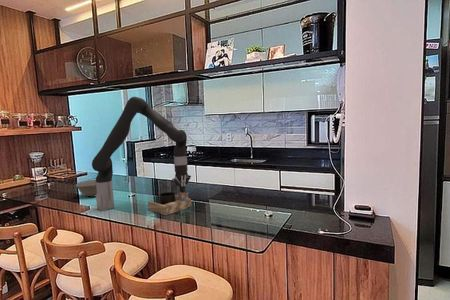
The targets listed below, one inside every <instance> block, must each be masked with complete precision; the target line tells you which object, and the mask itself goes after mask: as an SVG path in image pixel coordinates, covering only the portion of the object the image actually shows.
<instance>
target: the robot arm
mask: <svg viewBox="0 0 450 300" xmlns="http://www.w3.org/2000/svg"><path fill="white" fill-rule="evenodd" d="M137 114H140V115H142V116H144V117H146V118H147V119H148V120H149V121H150V122H151V123H152V124H153V125H154V126H155V127H156V128H157V129H159V130H160V131H162V132H163V133H165V134H166V136H167V137H168V138H169V139H170V140H171V141H173V142H174V143H175V146H174V148H173V154H174V155H173V159H174V160H173V163H174V172H175V175H174V176H175V177H173V178H171V179H172V180H171V181H172V182H173V183H174V184H175V185H176V187H179V191H180V192H181V193H184V192H185V193H186V186H187V185H188V184H189V182H190V180H191V177H192V175H190V174H188V159H187V157H188V156H187V151H186V150H187V149H186V148H187V141H188V140H187V139H188V137H187V133H186V131H185V130H183V129H177V128H176V127H175V126H174V124H173V122H171V121H170V120H168V119H166V117H164V116H162V115H161V114H160V113H158V112H157V110H155V109H154V108H152V106H151V105H150V104H148V103H147V102H146V100H145V99H143V98H141V97H137V96H131V97H130V98H129V99H128V100H127V102H126V104H125V106H124V108H123V110H122V113H121V115H120V117H118V119H117V121H116V123H115V124H114V126H113V128H112V129H111V131H110V133H109V134H108V136H107V138H106V140H105V141H104V143H103V145H102V147H101V148H100V150H99V151H98V152H97V154H96V155H95V156H94V158H93V159H92V160H91V161H92V162H91V167H92V169H93V170H94V171H96V172H97V175H96V177H95V180H96V187H97V194H96V196H95V198H96V199H95V200H96V209H97V210H98V209H99V211H101V210H103V211H108V209H109V210H111V208H112V209H114V208H115V198H114V187H113V173H114V170H113V161H112V158H111V157H112V156H113V155H114V153H115V152H116V151H117V150H118V149H119V148H120V146H122V145H123V143H124V142H125V140H126V139H127V137H128V136H129V133H130V130H131V129H130V128H131V123H132V121H133V119H134V118H135V116H136V115H137ZM180 192H179V193H180ZM113 207H114V208H113Z"/></svg>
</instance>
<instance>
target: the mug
mask: <svg viewBox="0 0 450 300" xmlns="http://www.w3.org/2000/svg"><path fill="white" fill-rule="evenodd" d="M175 195H176V193H175V192H172V191H167V192H166V191H165V192H161V193H160V194H159V195H158V197H159V204H162V205H164V204H167V203H171V202H174V201H176V198H175Z"/></svg>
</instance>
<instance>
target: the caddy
mask: <svg viewBox="0 0 450 300" xmlns="http://www.w3.org/2000/svg"><path fill="white" fill-rule="evenodd" d="M175 198H176V201H174V202H171V203H167V204H164V205H162V204H160V202H155V201H151V200H150V201H148V202H147V203H148V205H147V206H148V208H147V209H148V211H150V210H151V212H153V213H158V214H161V215H164V216H167V215H170V214H174V213H176V212H179V211H182V210H186V209H188V207H189V208H191V207H192V199H191V198H190V197H189V193H188V192H185V194H180V192H179V193H177V194H175Z"/></svg>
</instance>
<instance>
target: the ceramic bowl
mask: <svg viewBox="0 0 450 300" xmlns="http://www.w3.org/2000/svg"><path fill="white" fill-rule="evenodd" d="M75 186H76V187H75V188H77V189H78V191H79V192H80V193H81V194H82V195H83V196H85V197H87V196H94V195H96V194H97V187H96V179H89V180H85V181H84V180H83V181H80V182H77V183H76V184H75Z"/></svg>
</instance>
